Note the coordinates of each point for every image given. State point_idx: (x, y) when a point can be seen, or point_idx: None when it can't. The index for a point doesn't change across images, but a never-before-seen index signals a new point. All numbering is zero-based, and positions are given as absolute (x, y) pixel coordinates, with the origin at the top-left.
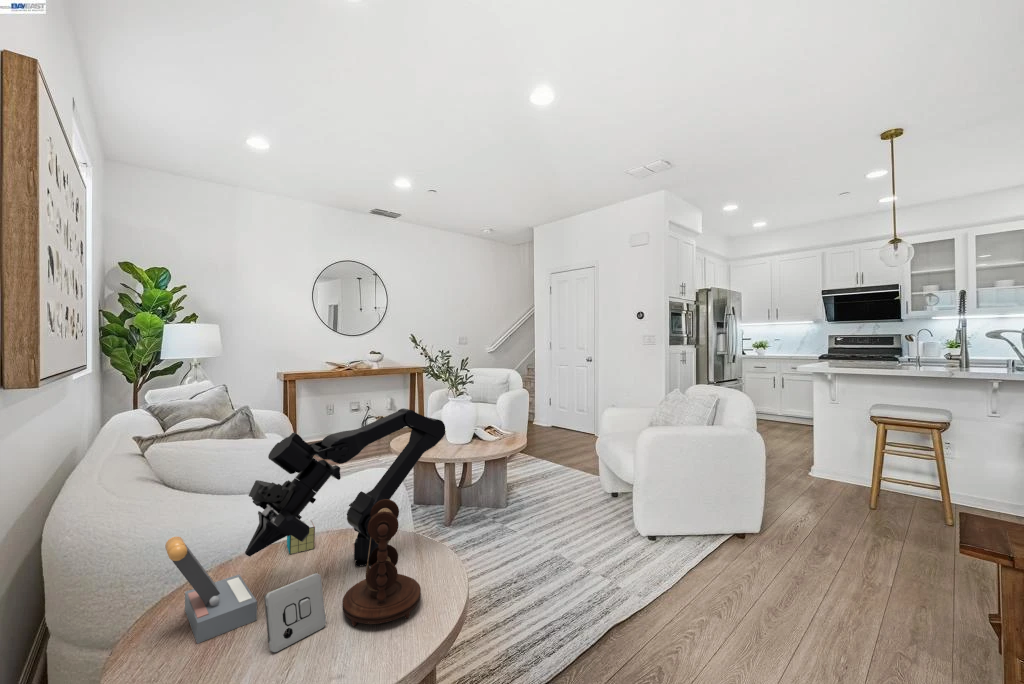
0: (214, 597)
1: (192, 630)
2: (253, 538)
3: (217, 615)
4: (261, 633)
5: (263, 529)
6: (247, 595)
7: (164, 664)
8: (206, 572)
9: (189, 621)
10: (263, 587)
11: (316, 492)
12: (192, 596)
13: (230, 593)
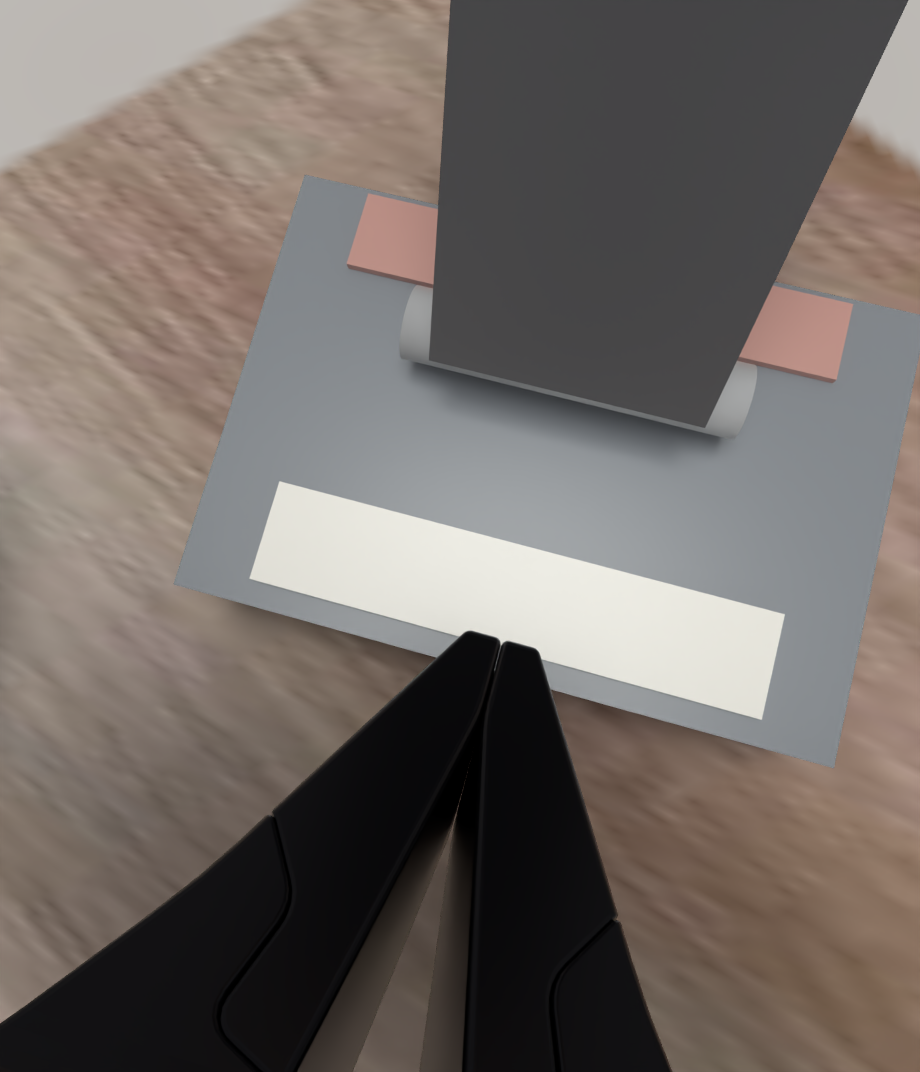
0: (414, 307)
1: None
2: (512, 832)
3: (267, 298)
4: (60, 532)
5: (139, 1054)
6: (326, 580)
7: (311, 82)
8: (738, 280)
9: None
10: (647, 904)
11: None
12: None
13: (522, 524)
